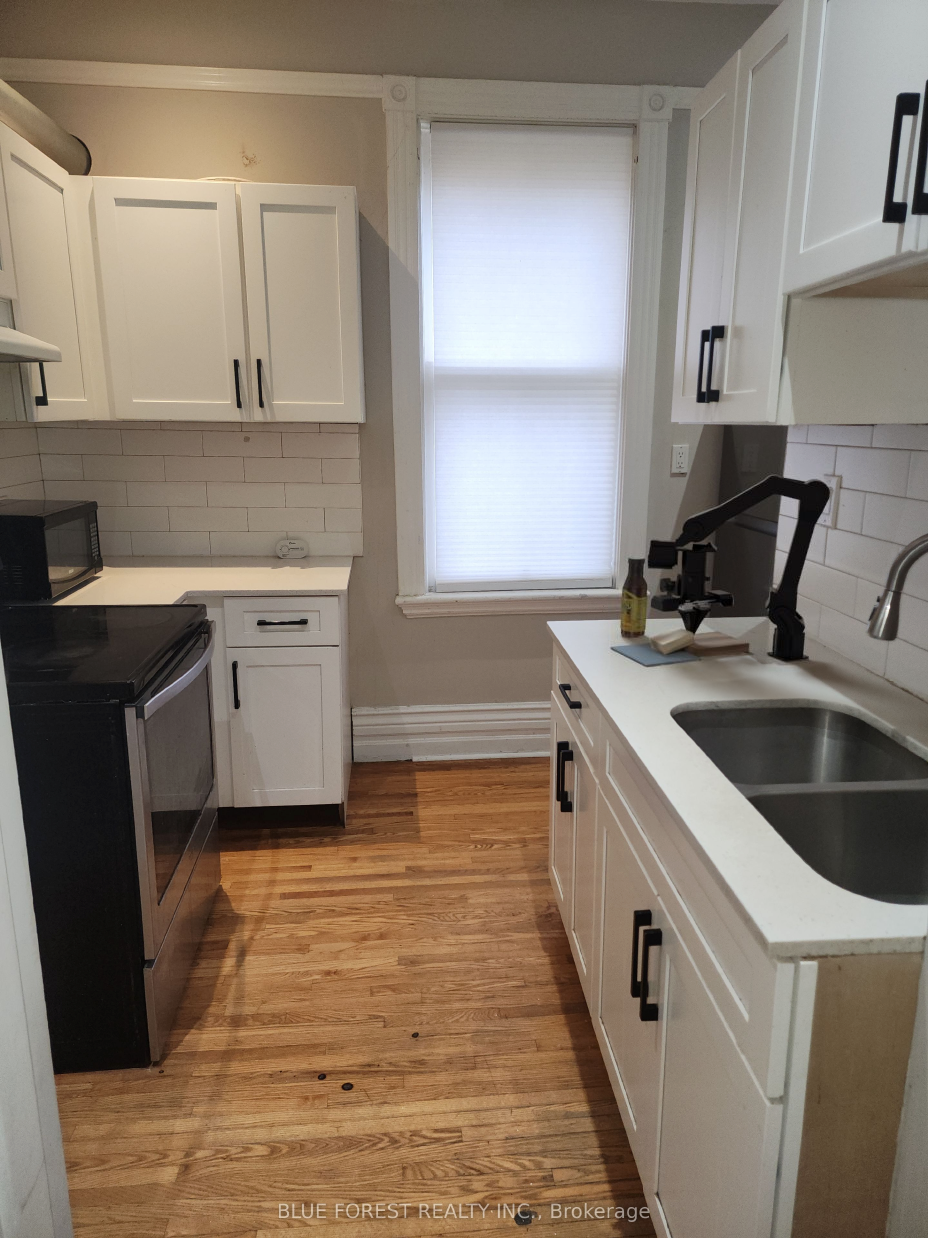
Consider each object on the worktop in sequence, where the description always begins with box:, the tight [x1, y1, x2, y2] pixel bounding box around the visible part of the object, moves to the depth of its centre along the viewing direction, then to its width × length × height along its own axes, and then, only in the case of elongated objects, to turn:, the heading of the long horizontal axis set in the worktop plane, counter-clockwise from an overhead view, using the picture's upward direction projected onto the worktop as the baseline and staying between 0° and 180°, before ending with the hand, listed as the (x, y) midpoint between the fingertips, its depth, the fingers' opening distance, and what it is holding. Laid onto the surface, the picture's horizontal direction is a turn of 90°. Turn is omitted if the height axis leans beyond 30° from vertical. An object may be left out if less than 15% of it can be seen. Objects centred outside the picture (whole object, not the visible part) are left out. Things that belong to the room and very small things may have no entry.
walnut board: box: [681, 630, 750, 658], centre depth 190 cm, size 12×14×2 cm
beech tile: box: [649, 626, 695, 655], centre depth 187 cm, size 6×8×2 cm
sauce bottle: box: [619, 555, 648, 638], centre depth 201 cm, size 6×6×20 cm
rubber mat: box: [610, 642, 702, 667], centre depth 186 cm, size 16×14×1 cm
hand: (690, 636), depth 188 cm, fingers closed
